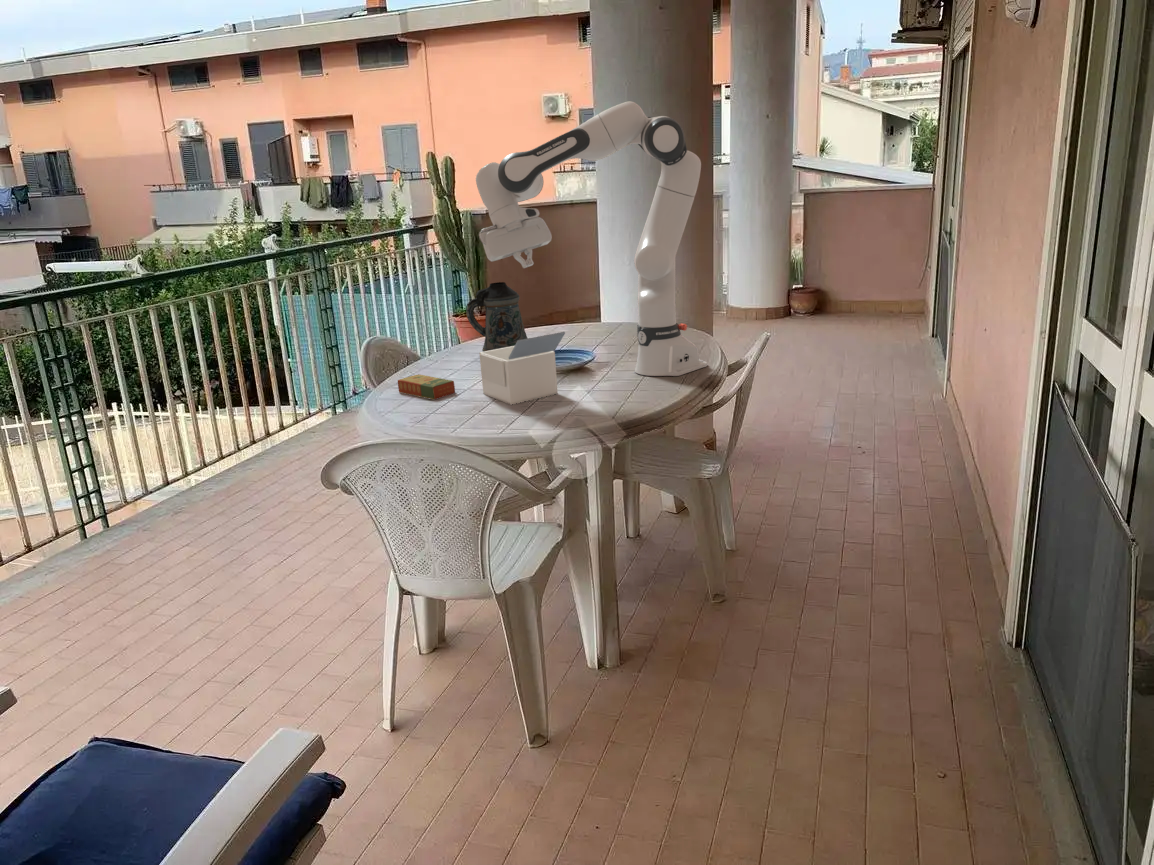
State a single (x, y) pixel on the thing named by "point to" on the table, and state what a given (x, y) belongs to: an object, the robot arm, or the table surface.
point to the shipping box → (518, 375)
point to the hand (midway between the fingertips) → (528, 266)
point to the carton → (426, 386)
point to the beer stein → (498, 316)
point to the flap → (536, 345)
